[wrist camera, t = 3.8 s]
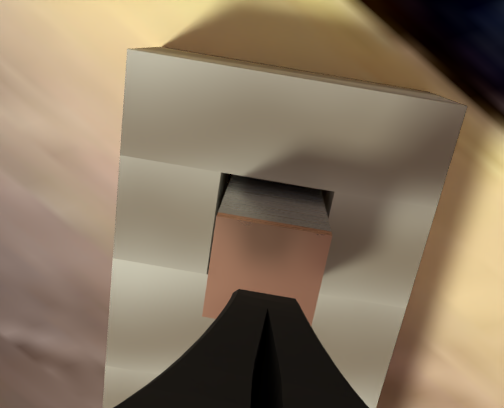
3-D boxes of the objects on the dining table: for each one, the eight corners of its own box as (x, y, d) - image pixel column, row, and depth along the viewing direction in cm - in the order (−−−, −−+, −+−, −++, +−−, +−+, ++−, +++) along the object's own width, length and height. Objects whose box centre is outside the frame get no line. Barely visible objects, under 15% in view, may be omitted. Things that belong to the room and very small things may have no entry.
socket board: (160, 46, 18) (127, 48, 14) (428, 91, 18) (467, 106, 14) (126, 427, 24) (96, 501, 20) (326, 462, 24) (334, 542, 20)
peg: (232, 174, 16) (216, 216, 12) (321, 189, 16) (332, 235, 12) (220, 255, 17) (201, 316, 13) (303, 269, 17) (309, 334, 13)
